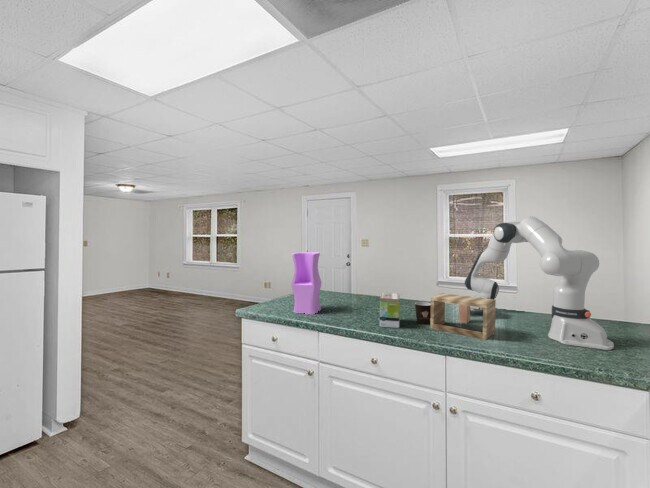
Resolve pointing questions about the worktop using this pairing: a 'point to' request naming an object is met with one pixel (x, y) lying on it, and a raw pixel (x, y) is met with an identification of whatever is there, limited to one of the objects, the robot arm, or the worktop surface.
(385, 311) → the tea box
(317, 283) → the container
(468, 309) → the block
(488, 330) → the shelf
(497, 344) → the worktop surface
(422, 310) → the coffee mug
